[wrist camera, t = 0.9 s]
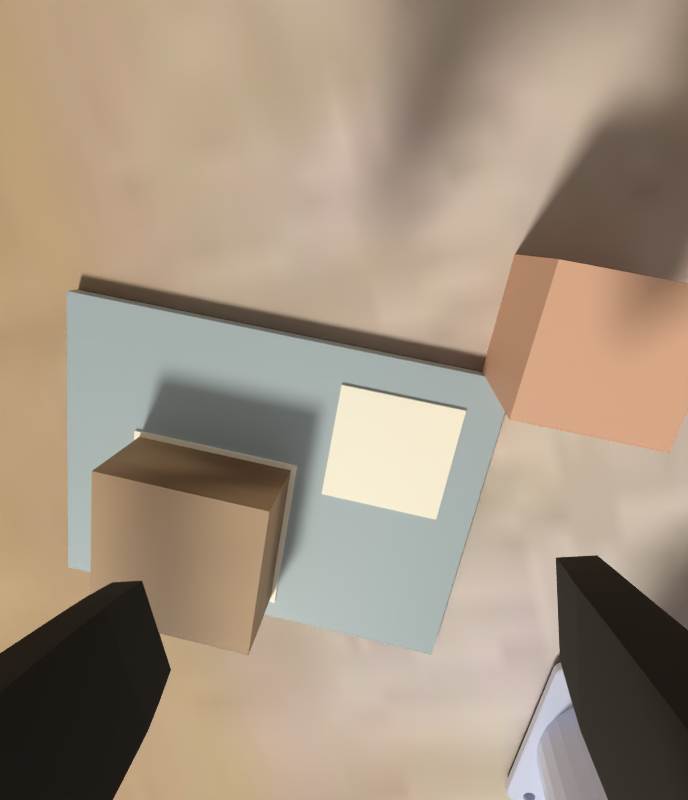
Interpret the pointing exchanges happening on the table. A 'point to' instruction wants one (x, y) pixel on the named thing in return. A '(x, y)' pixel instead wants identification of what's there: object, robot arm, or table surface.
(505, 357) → the terracotta block
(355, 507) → the board
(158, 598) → the walnut block
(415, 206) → the table surface
